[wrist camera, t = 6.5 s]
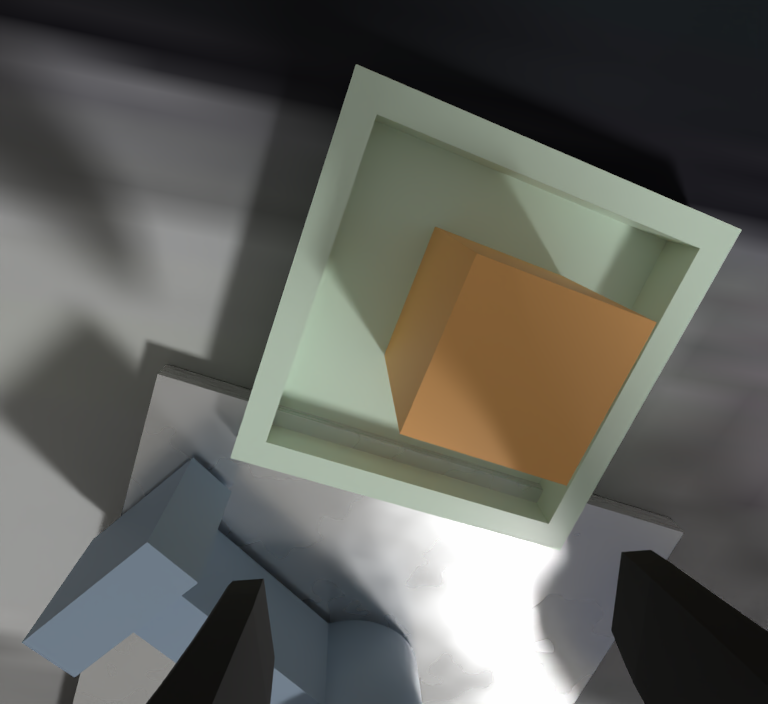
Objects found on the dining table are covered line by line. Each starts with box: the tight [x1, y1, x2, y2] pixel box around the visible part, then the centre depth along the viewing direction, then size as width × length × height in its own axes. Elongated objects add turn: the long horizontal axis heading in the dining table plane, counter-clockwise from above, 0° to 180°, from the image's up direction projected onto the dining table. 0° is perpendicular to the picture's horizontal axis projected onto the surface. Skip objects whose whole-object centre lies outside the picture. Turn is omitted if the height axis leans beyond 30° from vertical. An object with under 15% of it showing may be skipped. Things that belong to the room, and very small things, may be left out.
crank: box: [22, 458, 422, 704], centre depth 16 cm, size 12×5×4 cm, turn 39°
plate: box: [73, 365, 684, 704], centre depth 19 cm, size 18×18×1 cm
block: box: [384, 227, 657, 486], centre depth 13 cm, size 4×4×5 cm
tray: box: [230, 64, 741, 551], centre depth 15 cm, size 11×11×2 cm
